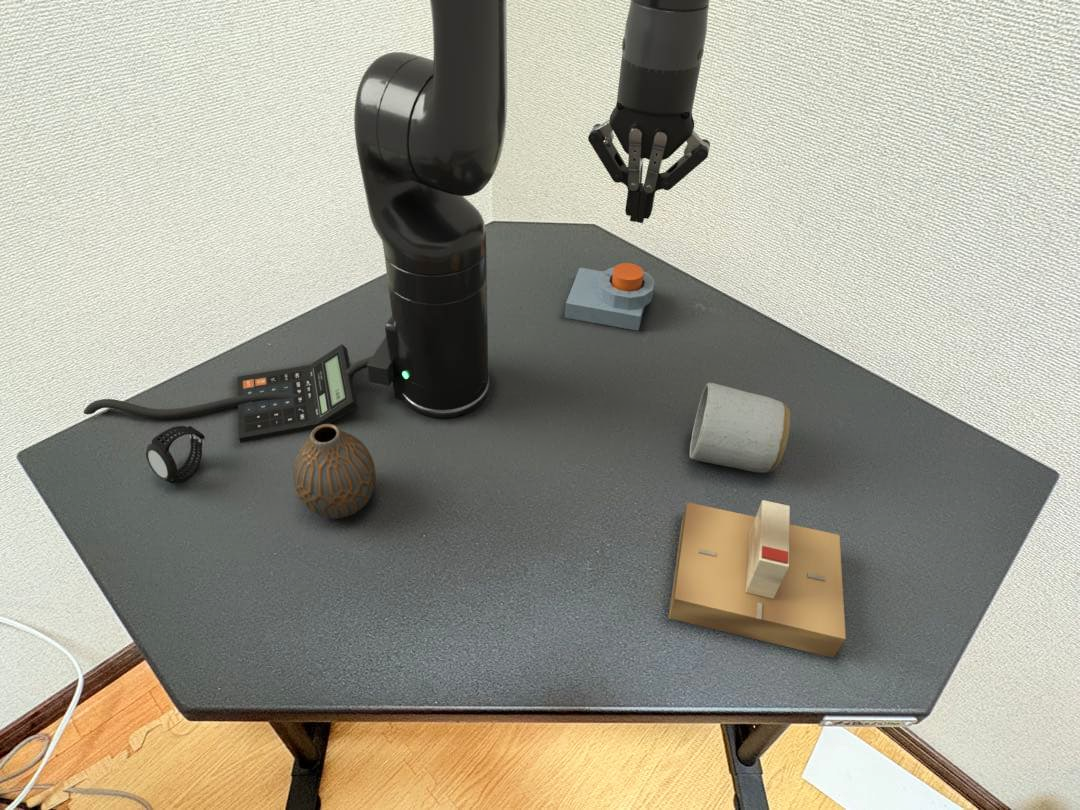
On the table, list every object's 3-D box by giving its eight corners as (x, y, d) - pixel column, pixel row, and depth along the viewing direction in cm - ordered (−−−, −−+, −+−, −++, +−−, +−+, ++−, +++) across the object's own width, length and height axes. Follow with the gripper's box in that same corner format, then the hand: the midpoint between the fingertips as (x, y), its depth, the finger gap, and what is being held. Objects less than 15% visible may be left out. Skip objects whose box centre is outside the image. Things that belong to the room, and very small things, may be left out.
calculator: (239, 382, 78) (232, 361, 76) (350, 364, 80) (346, 343, 78) (241, 444, 71) (233, 422, 69) (361, 422, 74) (357, 400, 72)
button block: (564, 317, 88) (566, 290, 85) (578, 281, 93) (580, 254, 91) (644, 332, 86) (649, 304, 83) (653, 294, 92) (658, 267, 89)
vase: (295, 483, 67) (275, 416, 61) (369, 463, 70) (357, 396, 64) (309, 540, 63) (289, 474, 57) (387, 517, 65) (376, 450, 59)
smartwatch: (153, 470, 68) (134, 433, 65) (209, 449, 70) (194, 412, 67) (164, 500, 66) (145, 463, 62) (222, 476, 68) (207, 439, 64)
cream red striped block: (749, 533, 62) (763, 497, 58) (775, 539, 61) (791, 503, 58) (745, 592, 57) (759, 558, 54) (773, 599, 57) (790, 564, 54)
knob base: (668, 619, 59) (674, 598, 57) (681, 521, 66) (687, 499, 64) (833, 659, 57) (846, 639, 55) (828, 554, 64) (840, 532, 62)
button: (609, 289, 86) (610, 276, 85) (614, 273, 88) (616, 260, 87) (639, 294, 85) (641, 282, 84) (643, 278, 88) (645, 265, 87)
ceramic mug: (773, 491, 69) (796, 434, 64) (686, 475, 70) (702, 417, 65) (771, 417, 77) (791, 360, 71) (693, 403, 78) (707, 346, 72)
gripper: (734, 50, 70) (700, 213, 82) (601, 33, 72) (586, 194, 84) (730, 75, 65) (693, 245, 77) (585, 56, 67) (571, 225, 79)
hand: (637, 218), depth 81 cm, fingers closed
